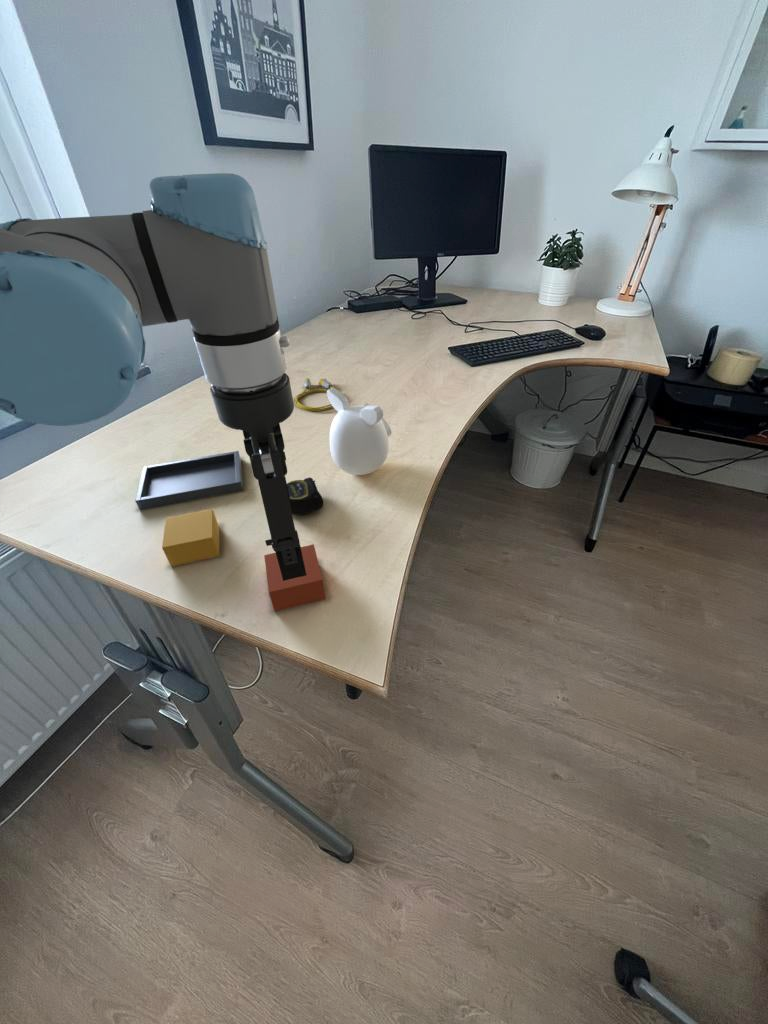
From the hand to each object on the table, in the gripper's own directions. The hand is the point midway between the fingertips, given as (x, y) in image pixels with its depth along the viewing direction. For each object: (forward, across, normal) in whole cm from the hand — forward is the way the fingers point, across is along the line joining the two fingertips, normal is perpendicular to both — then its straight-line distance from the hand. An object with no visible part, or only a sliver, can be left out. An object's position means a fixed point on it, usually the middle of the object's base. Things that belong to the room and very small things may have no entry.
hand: (287, 537), depth 55 cm
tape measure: (+10, +18, -4) cm, 21 cm away
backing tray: (+9, +31, +15) cm, 36 cm away
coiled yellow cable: (+10, +59, -14) cm, 61 cm away
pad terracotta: (+9, 0, 0) cm, 9 cm away
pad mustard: (+9, +13, +14) cm, 21 cm away
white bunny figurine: (+10, +26, -16) cm, 32 cm away
